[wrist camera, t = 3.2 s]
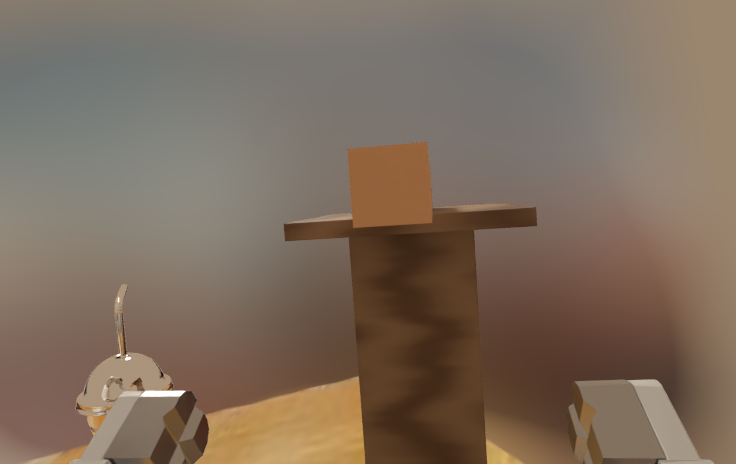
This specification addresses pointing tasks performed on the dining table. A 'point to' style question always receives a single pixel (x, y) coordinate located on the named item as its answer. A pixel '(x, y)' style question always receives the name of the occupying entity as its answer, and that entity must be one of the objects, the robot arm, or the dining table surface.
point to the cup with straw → (119, 376)
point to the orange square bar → (390, 185)
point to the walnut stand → (418, 330)
